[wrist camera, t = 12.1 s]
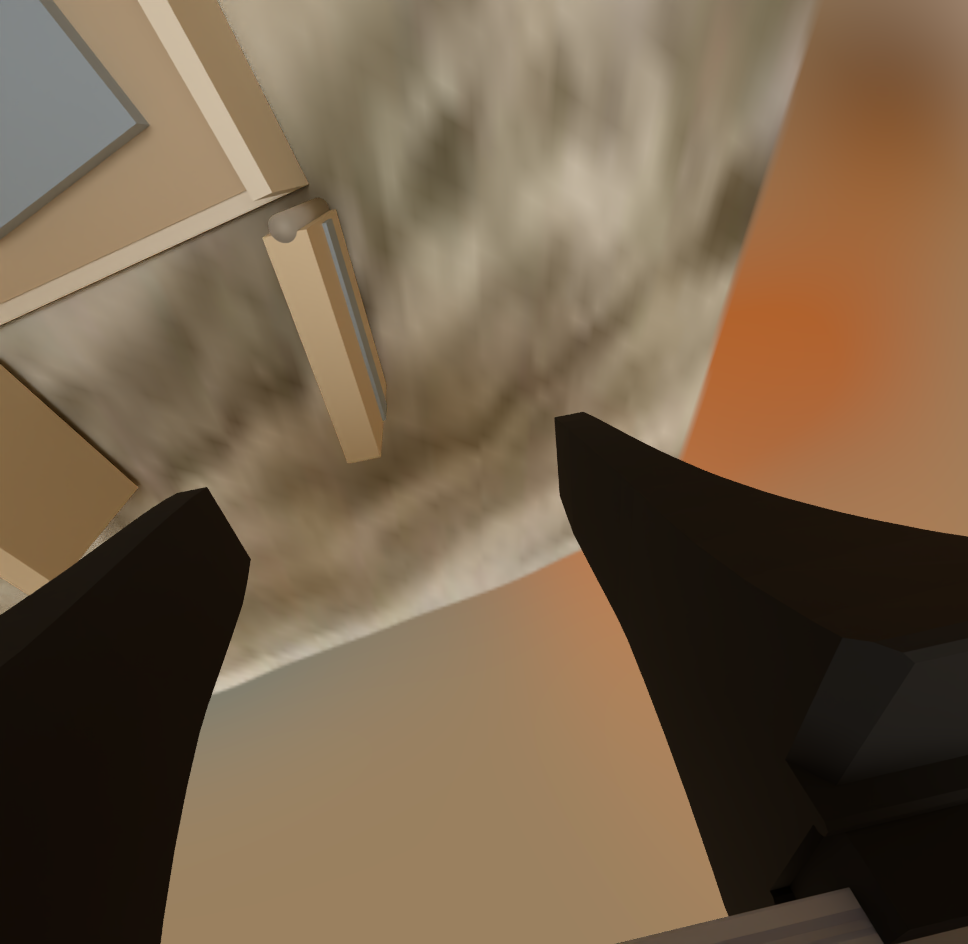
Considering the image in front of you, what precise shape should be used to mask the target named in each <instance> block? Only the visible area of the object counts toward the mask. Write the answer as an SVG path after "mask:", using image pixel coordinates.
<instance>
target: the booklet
mask: <svg viewBox="0 0 968 944" xmlns="http://www.w3.org/2000/svg"><path fill="white" fill-rule="evenodd" d="M148 126H150V125H149V123H148V122H147V121H146V120H145V118H144V117H143V116H142V114H141V113H140V112H139V111H138V109H137V108H136V107H135V105H134V104H133V103H132V102H131V100H130V99H129V98H128V96H127V95H126V94H125V93H124V91H123V90H122V89H121V87H120V86H119V85H118V84H117V82H116V81H115V80H114V78H113V77H112V76H111V75H110V73H109V72H108V71H107V69H106V68H105V67H104V66H103V64H102V63H101V62H100V60H99V59H98V58H97V57H96V55H95V54H94V53H93V51H92V50H91V49H90V48H89V46H88V45H87V44H86V42H85V41H84V40H83V39H82V37H81V36H80V35H79V33H78V32H77V31H76V30H75V28H74V27H73V26H72V24H71V23H70V22H69V21H68V19H67V18H66V17H65V15H64V14H63V13H62V12H61V10H60V9H59V8H58V6H57V5H56V4H55V3H54V1H53V0H0V240H1V239H2V238H3V237H4V236H6V235H7V234H8V233H10V232H11V231H12V230H14V229H15V228H16V227H18V226H19V225H20V224H21V223H23V222H24V221H25V220H27V219H28V218H29V217H31V216H32V215H33V214H35V213H36V212H37V211H38V210H40V209H41V208H42V207H44V206H45V205H46V204H48V203H49V202H50V201H52V200H53V199H54V198H55V197H57V196H58V195H59V194H61V193H62V192H63V191H65V190H66V189H67V188H69V187H70V186H71V185H72V184H74V183H75V182H76V181H78V180H79V179H80V178H82V177H83V176H84V175H86V174H87V173H88V172H89V171H91V170H92V169H93V168H95V167H96V166H97V165H99V164H100V163H101V162H103V161H104V160H105V159H106V158H108V157H109V156H110V155H112V154H113V153H114V152H116V151H117V150H118V149H120V148H121V147H122V146H123V145H125V144H126V143H127V142H129V141H130V140H131V139H133V138H134V137H135V136H137V135H138V134H139V133H140V132H142V131H143V130H144V129H146V128H147V127H148Z"/></svg>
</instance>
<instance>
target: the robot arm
mask: <svg viewBox="0 0 968 944" xmlns="http://www.w3.org/2000/svg"><path fill="white" fill-rule="evenodd" d="M555 433H556V447H557V462H558V477H559V491H560V498H561V500H562V503H563V506H564V509H565V512H566V515H567V517H568V520H569V523H570V525H571V528H572V531H573V533H574V535H575V537H576V539H577V541H578V543H579V545H580V547H581V549H582V551H583V553H584V555H585V557H586V559H587V561H588V563H589V565H590V567H591V568H592V570H593V572H594V574H595V576H596V578H597V580H598V582H599V584H600V586H601V587H602V589H603V591H604V593H605V595H606V597H607V599H608V601H609V603H610V605H611V607H612V608H613V610H614V612H615V614H616V616H617V618H618V620H619V622H620V624H621V626H622V629H623V631H624V633H625V635H626V637H627V639H628V642H629V644H630V646H631V649H632V652H633V654H634V657H635V659H636V662H637V664H638V667H639V669H640V672H641V674H642V677H643V679H644V681H645V684H646V687H647V689H648V692H649V695H650V697H651V700H652V703H653V705H654V708H655V710H656V713H657V715H658V718H659V721H660V723H661V726H662V729H663V731H664V734H665V736H666V739H667V742H668V745H669V747H670V750H671V753H672V756H673V758H674V761H675V764H676V767H677V770H678V772H679V775H680V778H681V781H682V783H683V786H684V789H685V791H686V794H687V797H688V800H689V802H690V806H691V809H692V812H693V814H694V817H695V820H696V823H697V826H698V829H699V832H700V835H701V838H702V841H703V844H704V846H705V849H706V852H707V855H708V858H709V861H710V864H711V867H712V870H713V872H714V876H715V879H716V882H717V885H718V888H719V891H720V894H721V897H722V900H723V903H724V906H725V908H726V911H727V913H728V917H724V918H720V919H716V920H712V921H708V922H704V923H699V924H695V925H691V926H687V927H683V928H679V929H675V930H671V931H667V932H662V933H659V934H654V935H650V936H646V937H642V938H637V939H633V940H629V941H625V942H621V943H617V944H968V537H966V536H960V535H954V534H946V533H941V532H935V531H929V530H923V529H919V528H914V527H909V526H904V525H898V524H893V523H888V522H883V521H878V520H873V519H868V518H864V517H859V516H855V515H851V514H846V513H841V512H837V511H833V510H829V509H825V508H821V507H818V506H814V505H810V504H806V503H803V502H799V501H795V500H791V499H788V498H784V497H781V496H777V495H774V494H771V493H767V492H764V491H761V490H758V489H755V488H752V487H749V486H746V485H743V484H740V483H737V482H734V481H732V480H729V479H726V478H723V477H720V476H718V475H715V474H712V473H710V472H707V471H704V470H702V469H700V468H697V467H695V466H693V465H690V464H688V463H686V462H684V461H681V460H679V459H677V458H674V457H672V456H670V455H668V454H666V453H664V452H661V451H659V450H657V449H655V448H653V447H651V446H649V445H647V444H645V443H643V442H641V441H639V440H637V439H635V438H633V437H631V436H629V435H627V434H626V433H624V432H622V431H620V430H618V429H616V428H614V427H612V426H611V425H609V424H607V423H605V422H603V421H601V420H599V419H597V418H595V417H593V416H591V415H589V414H587V413H585V412H580V413H575V414H570V415H565V416H560V417H555ZM250 560H251V559H250V557H249V556H248V554H247V552H246V551H245V549H244V547H243V546H242V544H241V542H240V541H239V539H238V537H237V536H236V534H235V532H234V531H233V529H232V528H231V526H230V524H229V523H228V521H227V519H226V518H225V516H224V514H223V513H222V511H221V509H220V508H219V506H218V504H217V503H216V501H215V499H214V498H213V496H212V494H211V493H210V491H209V489H208V488H207V487H205V488H200V489H195V490H190V491H185V492H180V493H176V494H175V495H173V496H171V497H169V498H167V499H166V500H164V501H162V502H161V503H159V504H158V505H156V506H155V507H153V508H152V509H150V510H149V511H147V512H146V513H144V514H143V515H141V516H140V517H139V518H137V519H136V520H134V521H133V522H132V523H130V524H129V525H127V526H126V527H125V528H123V529H122V530H120V531H119V532H118V533H116V534H115V535H114V536H112V537H111V538H109V539H108V540H107V541H105V542H104V543H103V544H101V545H100V546H98V547H97V548H96V549H94V550H93V551H92V552H90V553H89V554H88V555H86V556H85V557H83V558H82V559H81V560H79V561H78V562H77V563H75V564H74V565H72V566H71V567H70V568H68V569H67V570H65V571H64V572H62V573H61V574H59V575H58V576H57V577H55V578H54V579H52V580H51V581H49V582H48V583H46V584H45V585H44V586H42V587H41V588H39V589H38V590H36V591H35V592H33V593H32V594H31V595H29V596H28V597H26V598H25V599H23V600H22V601H20V602H19V603H18V604H16V605H15V606H13V607H12V608H10V609H9V610H7V611H6V612H4V613H3V614H1V615H0V944H160V943H161V935H162V927H163V919H164V913H165V907H166V900H167V894H168V888H169V881H170V875H171V869H172V863H173V856H174V850H175V845H176V839H177V835H178V830H179V825H180V820H181V815H182V809H183V804H184V799H185V794H186V789H187V784H188V780H189V776H190V772H191V767H192V763H193V759H194V754H195V750H196V746H197V741H198V737H199V733H200V729H201V726H202V723H203V720H204V716H205V713H206V710H207V706H208V703H209V701H210V698H211V695H212V692H213V689H214V686H215V684H216V681H217V678H218V675H219V672H220V669H221V666H222V663H223V661H224V658H225V655H226V652H227V649H228V646H229V643H230V641H231V638H232V635H233V632H234V629H235V626H236V623H237V620H238V617H239V614H240V611H241V608H242V604H243V600H244V595H245V590H246V585H247V580H248V573H249V567H250Z"/></svg>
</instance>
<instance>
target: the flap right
mask: <svg viewBox="0 0 968 944" xmlns="http://www.w3.org/2000/svg"><path fill="white" fill-rule="evenodd" d="M268 228H269V231H270V234H268V235H266V236H264V237H262V238H263V241H264V243H265V246H266V249H267V251H268V254H269V257H270V259H271V262H272V265H273V267H274V270H275V273H276V275H277V278H278V280H279V283H280V286H281V288H282V291H283V294H284V296H285V299H286V302H287V304H288V307H289V310H290V312H291V315H292V317H293V320H294V323H295V325H296V328H297V331H298V333H299V336H300V339H301V341H302V344H303V347H304V349H305V352H306V354H307V357H308V360H309V362H310V365H311V368H312V370H313V373H314V376H315V378H316V381H317V383H318V386H319V389H320V391H321V394H322V397H323V399H324V402H325V405H326V407H327V410H328V413H329V415H330V418H331V420H332V423H333V426H334V428H335V431H336V434H337V436H338V439H339V442H340V444H341V447H342V450H343V452H344V455H345V457H346V460H347V463H348V464H349V463H354V462H359V461H364V460H369V459H374V458H379V457H381V447H382V435H383V422H384V420H386V411H387V404H386V400H385V397H386V382H385V378H384V375H383V371H382V368H381V364H380V361H379V357H378V354H377V350H376V347H375V344H374V340H373V337H372V333H371V330H370V326H369V323H368V319H367V316H366V312H365V309H364V305H363V302H362V298H361V295H360V292H359V288H358V285H357V281H356V278H355V274H354V271H353V267H352V264H351V260H350V257H349V253H348V250H347V246H346V243H345V240H344V236H343V233H342V229H341V226H340V222H339V219H338V215H337V212H336V209H334V210H329V207H328V204H327V203H326V201H325V200H323V199H321V198H314V199H312V200H309V201H307V202H304V203H302V204H299V205H297V206H294V207H291V208H289V209H286V210H284V211H281V212H279V213H276V214H274V215H273V216H271V218H270V219H269V222H268Z"/></svg>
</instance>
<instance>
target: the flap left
mask: <svg viewBox="0 0 968 944" xmlns="http://www.w3.org/2000/svg"><path fill="white" fill-rule="evenodd" d="M137 488H138V487H137V486H136V485H135V484H134V483H133V482H132V481H130V480H129V479H128V478H127V477H126V476H125V475H124V474H123V473H121V472H120V471H119V470H118V469H117V468H116V467H115V466H114V465H113V464H111V463H110V462H109V461H108V460H107V459H106V458H105V457H104V456H102V455H101V454H100V453H99V452H98V451H97V450H96V449H95V448H93V447H92V446H91V445H90V444H89V443H88V442H87V441H86V440H85V439H83V438H82V437H81V436H80V435H79V434H78V433H77V432H76V431H74V430H73V429H72V428H71V427H70V426H69V425H68V424H67V423H65V422H64V421H63V420H62V419H61V418H60V417H59V416H58V415H57V414H55V413H54V412H53V411H52V410H51V409H50V408H49V407H48V406H46V405H45V404H44V403H43V402H42V401H41V400H40V399H39V398H38V397H36V396H35V395H34V394H33V393H32V392H31V391H30V390H29V389H27V388H26V387H25V386H24V385H23V384H22V383H21V382H20V381H18V380H17V379H16V378H15V377H14V376H13V375H12V374H11V373H10V372H8V371H7V370H6V369H5V368H4V367H3V366H2V365H1V364H0V577H1V578H2V579H4V580H6V581H7V582H9V583H10V584H12V585H13V586H15V587H17V588H18V589H20V590H21V591H23V592H25V593H26V594H28V595H31V594H32V593H33V592H35V591H36V590H38V589H39V588H41V587H42V586H44V585H45V584H46V583H48V582H49V581H51V580H52V579H54V578H55V577H57V576H58V575H59V574H61V573H62V572H64V571H65V570H67V569H68V568H70V567H71V566H72V565H74V564H75V563H77V562H78V560H79V559H80V558H81V557H82V556H83V554H84V553H85V552H86V551H87V549H88V548H89V547H90V546H91V545H92V543H93V542H94V541H95V540H96V538H97V537H98V536H99V535H100V534H101V532H102V531H103V530H104V529H105V527H106V526H107V525H108V524H109V523H110V521H111V520H112V519H113V518H114V516H115V515H116V514H117V513H118V512H119V510H120V509H121V508H122V507H123V505H124V504H125V503H126V502H127V501H128V499H129V498H130V497H131V496H132V494H133V493H134V492H135V491H136V490H137Z"/></svg>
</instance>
